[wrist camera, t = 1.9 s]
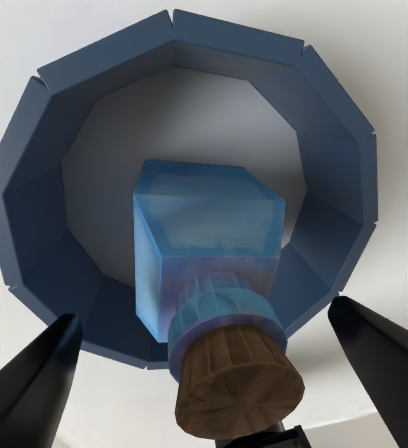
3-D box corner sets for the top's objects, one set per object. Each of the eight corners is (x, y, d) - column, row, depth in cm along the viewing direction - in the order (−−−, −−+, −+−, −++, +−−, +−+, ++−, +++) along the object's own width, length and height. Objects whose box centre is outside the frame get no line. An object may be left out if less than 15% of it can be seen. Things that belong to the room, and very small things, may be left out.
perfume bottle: (145, 159, 14) (89, 316, 4) (243, 167, 15) (413, 305, 5) (145, 246, 17) (112, 480, 6) (228, 248, 18) (317, 450, 8)
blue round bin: (361, 182, 17) (437, 212, 12) (209, 330, 22) (222, 394, 17) (154, -47, 10) (145, -177, 6) (1, 239, 15) (-75, 301, 10)
